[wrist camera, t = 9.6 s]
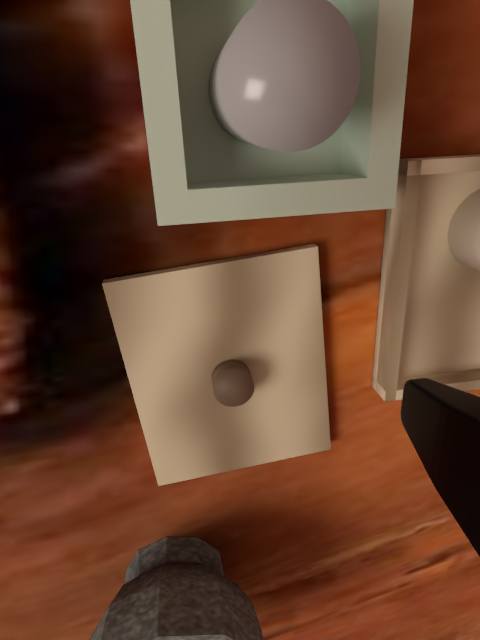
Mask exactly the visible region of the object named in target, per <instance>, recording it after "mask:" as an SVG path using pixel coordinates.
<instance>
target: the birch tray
mask: <svg viewBox="0 0 480 640" xmlns="http://www.w3.org/2000/svg"><path fill="white" fill-rule="evenodd" d="M479 189H480V154H473V155H457V156H441V157H424V158H408V159H399V170H398V181H397V192H396V203H395V208H391V209H387V210H386V222H385V234H384V246H383V258H382V270H381V282H380V294H379V307H378V319H377V331H376V343H375V355H374V367H373V379H372V387H373V388H374V389H375V390H376V391H377V393H378V394H379V395H380V396H381V397H382V399H383V400H384V401H393V400H401V399H402V397H403V388H404V384H405V382H406V381H407V380H410V379H417V378H428V379H431V380H434V381H437V382H439V383H442V384H445V385H448V386H451V387H453V388H456V389H459V390H462V391H470V390H478V389H480V272H479V271H477V270H474V269H472V268H469V267H467V266H465V265H463V264H461V263H459V262H458V261H457V260H456V259H455V258H454V257H453V255H452V254H451V252H450V249H449V246H448V228H449V224H450V221H451V219H452V216H453V214H454V213H455V211H456V209H457V208H458V206H459V205H460V204H461V203H462V202H463V200H465V199H466V198H467V197H468V196H469V195H470V194H472V193H473V192H475V191H477V190H479Z"/></svg>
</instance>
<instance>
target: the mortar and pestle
mask: <svg viewBox="0 0 480 640" xmlns="http://www.w3.org/2000/svg"><path fill="white" fill-rule="evenodd" d="M89 640H263V636H262V631H261V627H260V624H259V621H258V618H257V616H256V613H255V610H254V607H253V604H252V602H251V601H250V599H249V598H248V597H247V596H246V594H245V593H244V592H243V591H242V590H241V588H240V587H239V586H238V585H237V584H236V583H234V582H233V581H231V580H229V579H228V578H226V577H224V572H223V567H222V562H221V557H220V552H219V550H217V549H216V548H214V547H213V546H211V545H209V544H208V543H206V542H205V541H203V540H201V539H200V538H198V537H165V538H163V539H161V540H159V541H156V542H154V543H152V544H150V545H148V546H146V547H144V548H142V549H140V550H138V552H137V553H136V555H135V557H134V558H133V560H132V562H131V563H130V565H129V567H128V568H127V570H126V576H125V584H124V585H123V586H122V588H121V589H120V591H119V592H118V594H117V595H116V597H115V598H114V600H113V601H112V603H111V604H110V606H109V607H108V609H107V611H106V612H105V614H104V616H103V617H102V619H101V621H100V622H99V624H98V626H97V627H96V629H95V631H94V632H93V634H92V636H91V637H90V639H89Z"/></svg>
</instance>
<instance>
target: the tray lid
mask: <svg viewBox="0 0 480 640" xmlns="http://www.w3.org/2000/svg"><path fill="white" fill-rule="evenodd" d="M102 285H103V289H104V292H105V296H106V299H107V303H108V307H109V310H110V314H111V317H112V321H113V325H114V328H115V332H116V335H117V339H118V342H119V346H120V350H121V353H122V357H123V360H124V364H125V368H126V371H127V375H128V378H129V382H130V386H131V389H132V393H133V396H134V400H135V403H136V407H137V411H138V414H139V418H140V421H141V425H142V429H143V432H144V436H145V439H146V443H147V446H148V450H149V454H150V457H151V461H152V464H153V468H154V472H155V475H156V479H157V482H158V486H161V485H166V484H170V483H175V482H180V481H184V480H189V479H194V478H198V477H203V476H208V475H212V474H217V473H222V472H226V471H231V470H236V469H240V468H245V467H250V466H255V465H259V464H264V463H269V462H273V461H278V460H283V459H287V458H292V457H297V456H301V455H306V454H311V453H315V452H320V451H325V450H329V449H331V443H330V428H329V412H328V396H327V381H326V365H325V349H324V333H323V318H322V302H321V286H320V271H319V255H318V246H317V245H315V244H309V245H303V246H297V247H291V248H286V249H280V250H274V251H268V252H262V253H257V254H251V255H245V256H239V257H233V258H228V259H222V260H216V261H210V262H204V263H199V264H193V265H187V266H181V267H175V268H170V269H164V270H158V271H152V272H146V273H141V274H135V275H129V276H123V277H117V278H111V279H106V280H104V281H103V283H102Z"/></svg>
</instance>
